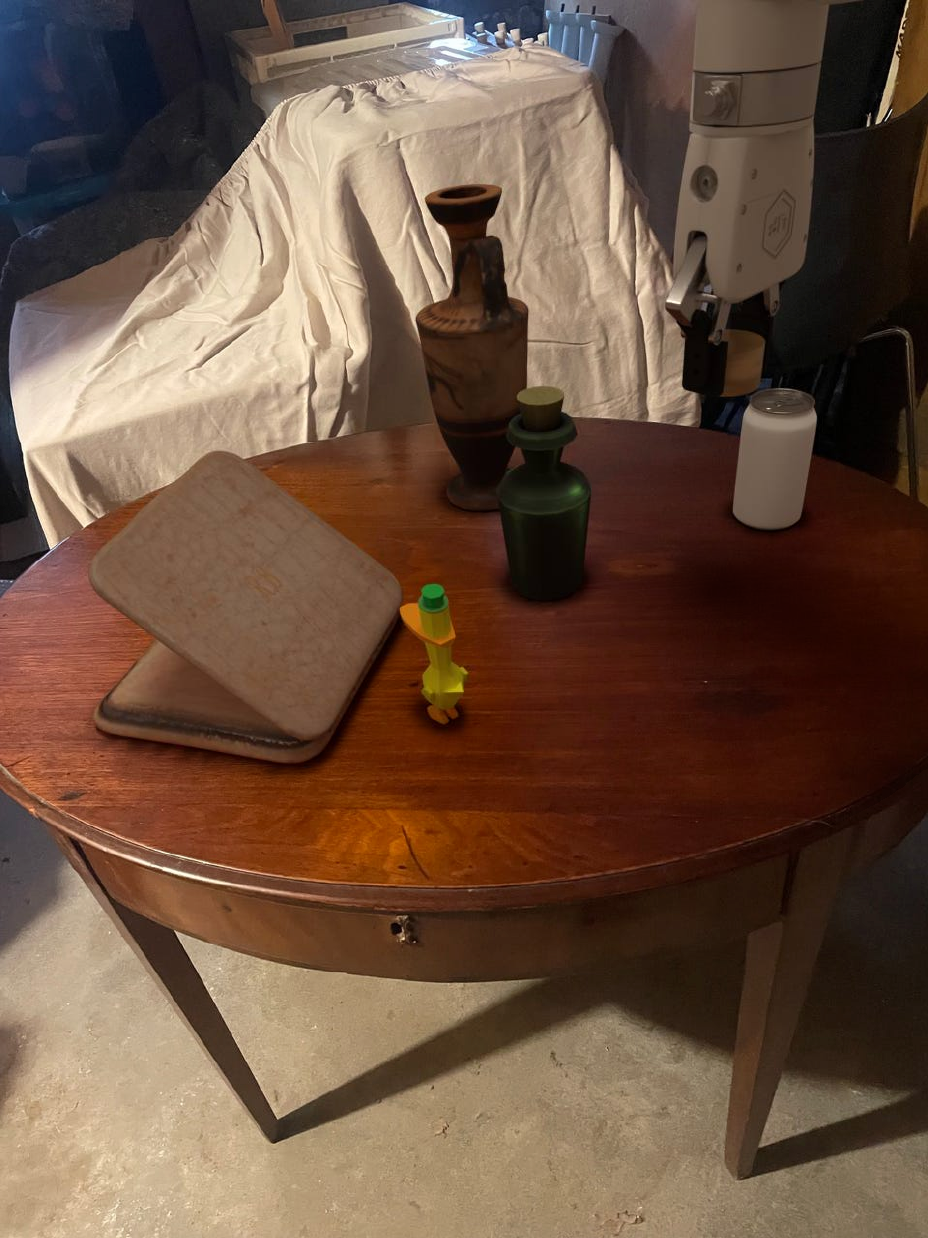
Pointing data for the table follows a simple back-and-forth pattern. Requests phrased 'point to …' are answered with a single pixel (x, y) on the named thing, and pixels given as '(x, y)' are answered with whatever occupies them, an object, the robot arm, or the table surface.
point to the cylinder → (742, 362)
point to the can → (774, 458)
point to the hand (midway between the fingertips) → (725, 377)
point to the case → (240, 616)
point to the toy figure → (436, 651)
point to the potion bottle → (544, 500)
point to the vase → (474, 347)
